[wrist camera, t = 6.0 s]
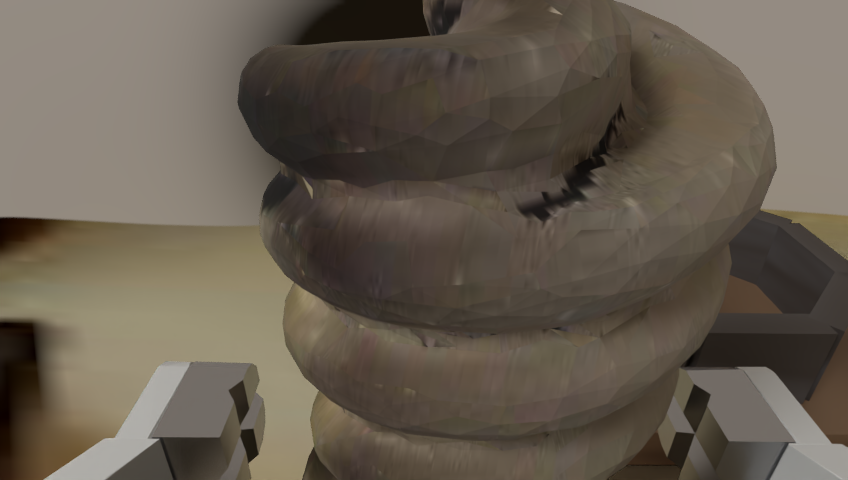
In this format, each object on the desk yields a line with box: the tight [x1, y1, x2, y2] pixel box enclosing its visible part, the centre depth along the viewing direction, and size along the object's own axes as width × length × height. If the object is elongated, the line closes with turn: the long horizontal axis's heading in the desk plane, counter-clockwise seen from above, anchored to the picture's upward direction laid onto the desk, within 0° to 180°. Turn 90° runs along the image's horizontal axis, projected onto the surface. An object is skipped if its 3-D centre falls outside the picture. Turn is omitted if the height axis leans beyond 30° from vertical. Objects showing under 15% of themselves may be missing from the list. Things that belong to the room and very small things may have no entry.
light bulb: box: [238, 0, 777, 480], centre depth 9 cm, size 6×6×15 cm
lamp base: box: [627, 210, 848, 465], centre depth 22 cm, size 13×13×4 cm
